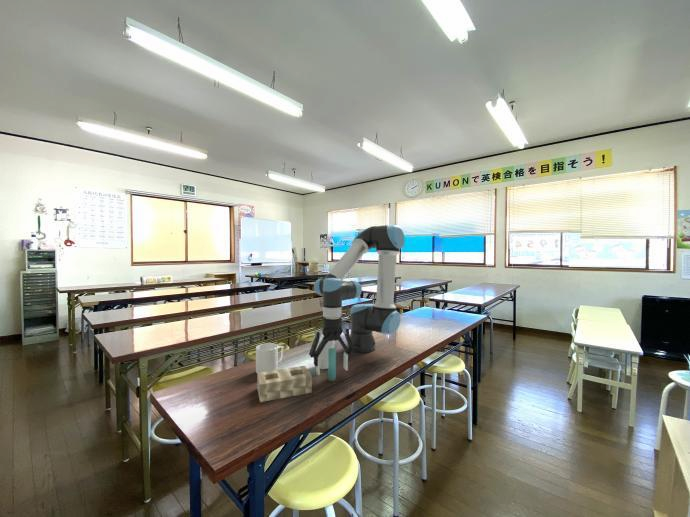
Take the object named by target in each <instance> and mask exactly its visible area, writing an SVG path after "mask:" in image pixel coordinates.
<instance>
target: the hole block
mask: <svg viewBox="0 0 690 517" xmlns="http://www.w3.org/2000/svg"><path fill="white" fill-rule="evenodd" d="M256 374H257V375H256V377H257V379H256V380H257V381H256V382H257V383H256V384H257V385H256V386H257V394H258V398H259V402H260V403H264V402H267V401H273V400H279V399H284V398H289V397H294V396H300V395H305V394H309V393H310V394H311V393H312V392H313V388H312V387H313V386H312V385H313V382H312V381H313V376H312V374H311V373H310V370H308V368H307V366H306V365H301V366H294V367H288V368H281V369H279V368H278V370H273V371H266V372H259V373H256Z"/></svg>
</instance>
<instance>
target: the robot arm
mask: <svg viewBox="0 0 690 517" xmlns="http://www.w3.org/2000/svg"><path fill="white" fill-rule="evenodd" d="M405 240H406V239H405V233H404V231H403V229H402V227H401V226H399V225H397V224H396V225H395V224H386V225H375V226H373V225H372V226H369V227H367V228H365V229H363V230H362V231H361V232H360V233H358V235H356V236H355V238H353V240H352V241H351V242H352V243H351V246H350V247H349V248H348V249H347V250H346V252H345V253H344V254H343V255H342V257H341V258H340V259H339V260H338V261H337V263H336V264H334V265H333V267H332V268H331V269H330V271H328V273H327V274H326V275H325V277H323V278H318V279H317V280H315V282H314V284H313V290H314V292H315V294H316V295H319V296H322V316H323V318H322V330H319V331H318V330H315V331H314V337H315V338H314V337H313V341H312V344H311V347H310V350H309V353H308V355H309V356H310V358H313V365H314V367H315V373H316V375H317V376H320V375H321V369H320V358H319V355H320V353H321V352H322V350H323V348H324V347H325V345H326V343H328V341H333V340H334V341H335V342H336V341H338V342H339V343H340V345H341V347H342V349H343V350H344V352H343V369H344V370H345V371H348V370H349V362H350V360H351V354H352V352H355V353H370V352H373V351H375V350H376V348H377V347H376V345H377V344H376V340H375V338H374V334H373V332H374V333H379V334H382V335H388V336H389V335H393V334H395V333H396V332H397V331H398V329H399V327H400V325H401V314H400V312H398V311H397V306H396V305H395V304H394V300H395V299H394V298H395V284H396V282H395V280H396V279H395V278H396V261H397V255H398V254H399V253H400V250H401V249H403V247H404V245H405ZM372 249H375V252H376V253H377V255H378V264H377V266H378V267H377V279H376V280H377V281H376V283H377V284H376V301H375V303H374V304H372V303H360V304H354V305H352V306H351V308H350V329H349V328H347V327H344V328H343V327H342V326H343V325H342V324H343V301H347V300H353V299H354V300H355V299H356V298H359V297H360V296H361V295H362V292H363V290H362V289H363V288H362V285H361V284H360V282H359V281H357V280H350V281H349V280H348V281H346V280H345V279H346V277H347V276H348V275H349V273H350V272H351V271H352V270H353V268H354V267H355V266H356V265H357V263H358V262H359V261H360V259H361V258H362V257H363V255H364V254H367V253H368V252H369V251H370V250H372ZM322 334H323V335H324V337H323V339H322V341H321V343H320V345H319V346H318V348H317V345H318V342H319V339H320V337H321V335H322ZM342 334H344V337H345V340H346V343H345V341H344V340H343V338H342V337H341V335H342ZM346 344H347V345H346ZM316 348H317V350H316Z"/></svg>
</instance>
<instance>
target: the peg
mask: <svg viewBox="0 0 690 517" xmlns="http://www.w3.org/2000/svg"><path fill="white" fill-rule="evenodd" d="M327 370H328V372H327V373H328V375H327V376H328V377H327V379H328V381H335V380H336V379H337V378H336V377H337V376H336V375H337V349H336V348H335V347H334V348H329V349H328V369H327Z"/></svg>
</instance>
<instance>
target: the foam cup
mask: <svg viewBox="0 0 690 517" xmlns="http://www.w3.org/2000/svg"><path fill="white" fill-rule="evenodd" d="M323 337H324V335H323V334H322V335H321V337H320V339H319V342H318V345H317V348H318V346H319V345H320V343H321V341H322V339H323ZM314 338H315V336H314V337H313V339H314ZM335 344H336V341H334V340H333V341H328V343H326V345H325V347H324V348H323V350H322V352H321V353H320V355H319V358H320V370H328V349H329V348H335ZM317 348H316V350H317Z"/></svg>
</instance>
